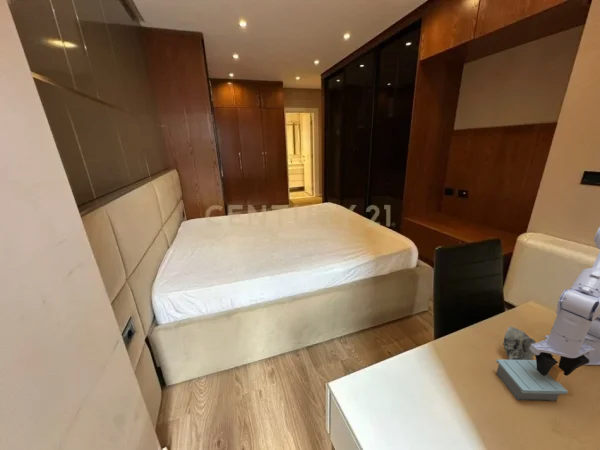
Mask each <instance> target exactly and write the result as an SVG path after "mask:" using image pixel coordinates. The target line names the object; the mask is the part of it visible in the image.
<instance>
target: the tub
mask: <svg viewBox="0 0 600 450" xmlns="http://www.w3.org/2000/svg"><path fill="white" fill-rule="evenodd" d="M495 374H496V376H497V377H498V378H499V380H501V382H502V383H503V385H504V386H505V387H506V388H507V390H508V391H509V393H511V394H512V396H513V397H514V398H515V399H516V401H524V402H525V401H529V402H532V401H534V402H557V399H558V398H559V396H560V394H541V393H522V392H521V389H520V388H519V387H518V386H517V385H516V384H515V382H514V381H513V380H512V379H511V378H510V376H509V375H508V374H507V373H506V372H505V371H504V369H503V368H502V367H501V366H500V365H499V364H498V367H497V370H496V373H495Z"/></svg>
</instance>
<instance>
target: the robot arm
mask: <svg viewBox="0 0 600 450" xmlns="http://www.w3.org/2000/svg"><path fill="white" fill-rule="evenodd" d="M593 241H594V243H595V247H596V248H597V249H598V250H600V226H599V227H598V229H597V231H596V233H595V235H594V238H593ZM556 305H557V308H556V311H555V314H556V317H555V320H554V322H553V325H552V328H551V329H550V330H551V331H550V333H549V334H546V335H545V336H544V339H543V340H540V341H539V342H535V344H531V346H530V350H531V351H532V352H533V353H534V357H535V360H536V363H537V370H538V371H539V372H540V373H541V374H542V375H543V376H546V375H547V374H548V372H549V371H550V369H551V368H552V367H553V366H554V365H555V364H556V365H557V364H558V365H557V366H558V367H559V368H561V369H562V370H563V371H564V374H563V376H567V377H568V376H569V375H570V374H572V373H573V372H574V371H576V370H577V369H578V368H580V367H583V366H584V365H585V366H600V251H599V252H598V255H597V257H596V259H595V260H594V263H593V265H592V267H589V268H588V267H587V268H584V269H582V270H581V272H580V273H579V275H578V276H577V278H576V279H575V280H574V281H573V283H572V285H571V286H570V288H569V289H567V288H566V289H563V291H562V292H561V294H560V296H559V298H558V302H557V304H556ZM553 355H554V356H559V358H560V359H559V362H558V361H557V359H555V358H554V356H553Z"/></svg>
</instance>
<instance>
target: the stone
mask: <svg viewBox="0 0 600 450" xmlns="http://www.w3.org/2000/svg"><path fill="white" fill-rule="evenodd" d="M535 343H536V340H535V339H533V338H532V337H530V336H529V335H528V334H526V332H524V331H523V330H521V329H518V328H516V327H514V326H511V325H510V326H509V327H508V328H507V329H506V331H505V334H504V338H503V343H502V345H503V348H504V351H505V353H506V355H507V358H508V360H533V358H534V357H535V354H534V353H533V352H532V351H531V350H530V346H531V344H535Z"/></svg>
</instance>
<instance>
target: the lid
mask: <svg viewBox="0 0 600 450" xmlns="http://www.w3.org/2000/svg"><path fill="white" fill-rule="evenodd" d="M495 362H496V364H498V366H499V365H500V366H501V367H502V368H503V369H504V371H505V372H506V373H507V374H508V375H509V376H510V378H511V379H512V380H513V381H514V382H515V384H516V385H517V386H518V387H519V388H520V389H521V392H522V393H541V394H559V395H567V394H568V392H569V391H568V390H567V389H566V388H565V387H564V386H563V385H562V384H561V383H560V382H561V381H562V379H563V377H564V371H563V370H562V369H561V368H559V367H558V365H557V364H555V365H554V366H553V367H552V368H551V369H550V371H549V372H548V374H547V375H546V376H543V375H542V374H541V373H540V372H539V371H538V370H537V363H536V359H531V360H509V359H505V358H504V359H501V358H500V359H496V361H495Z"/></svg>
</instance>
